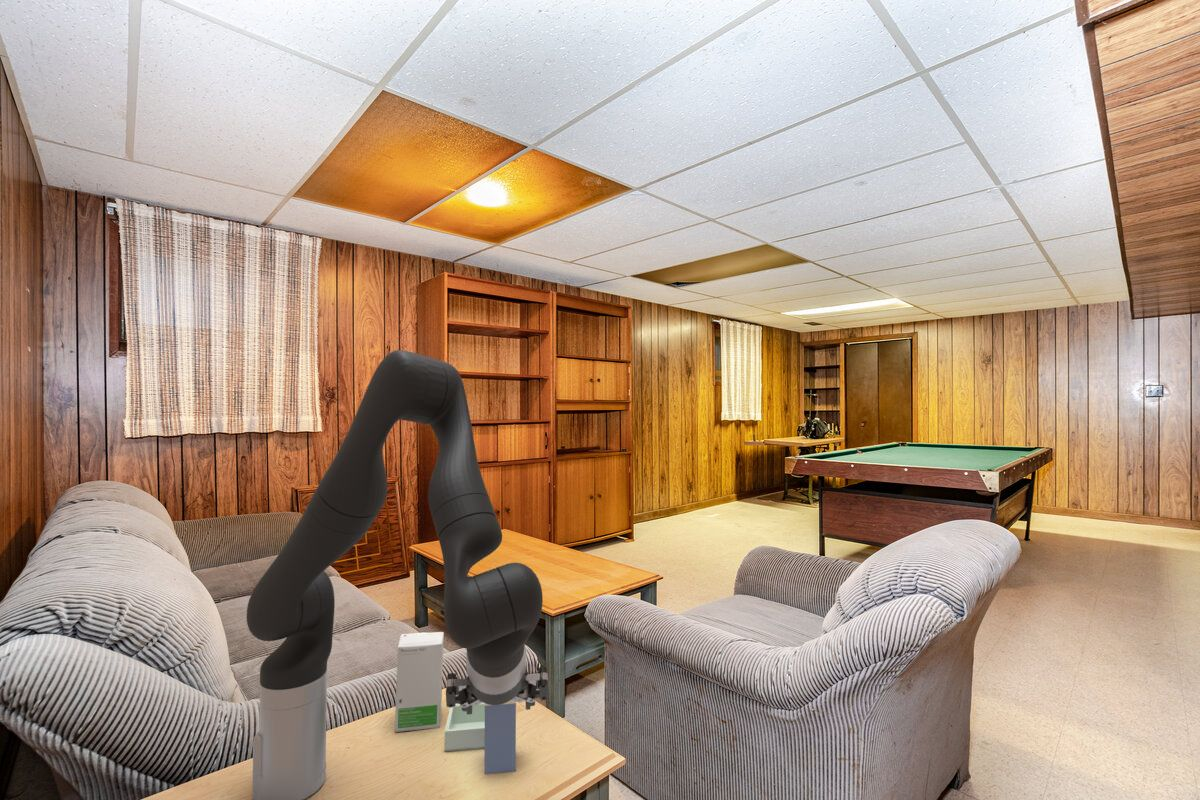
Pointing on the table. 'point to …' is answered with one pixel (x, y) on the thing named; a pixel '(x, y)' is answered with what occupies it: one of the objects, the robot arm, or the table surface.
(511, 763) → the tea box
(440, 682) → the skincare box
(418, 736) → the table surface
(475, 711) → the tray
